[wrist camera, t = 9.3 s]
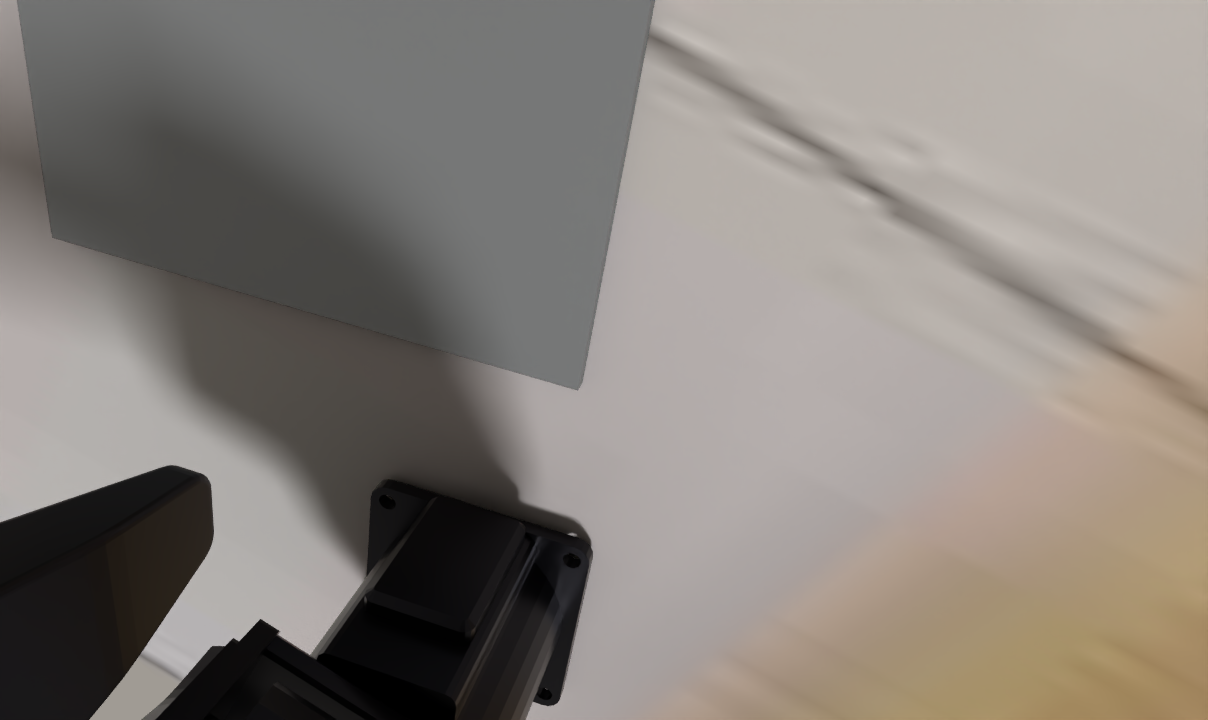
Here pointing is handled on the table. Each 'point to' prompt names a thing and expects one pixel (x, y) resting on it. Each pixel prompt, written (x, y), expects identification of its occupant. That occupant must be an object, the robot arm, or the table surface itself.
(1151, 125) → the table surface
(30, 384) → the table surface
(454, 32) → the rubber mat
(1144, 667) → the table surface
